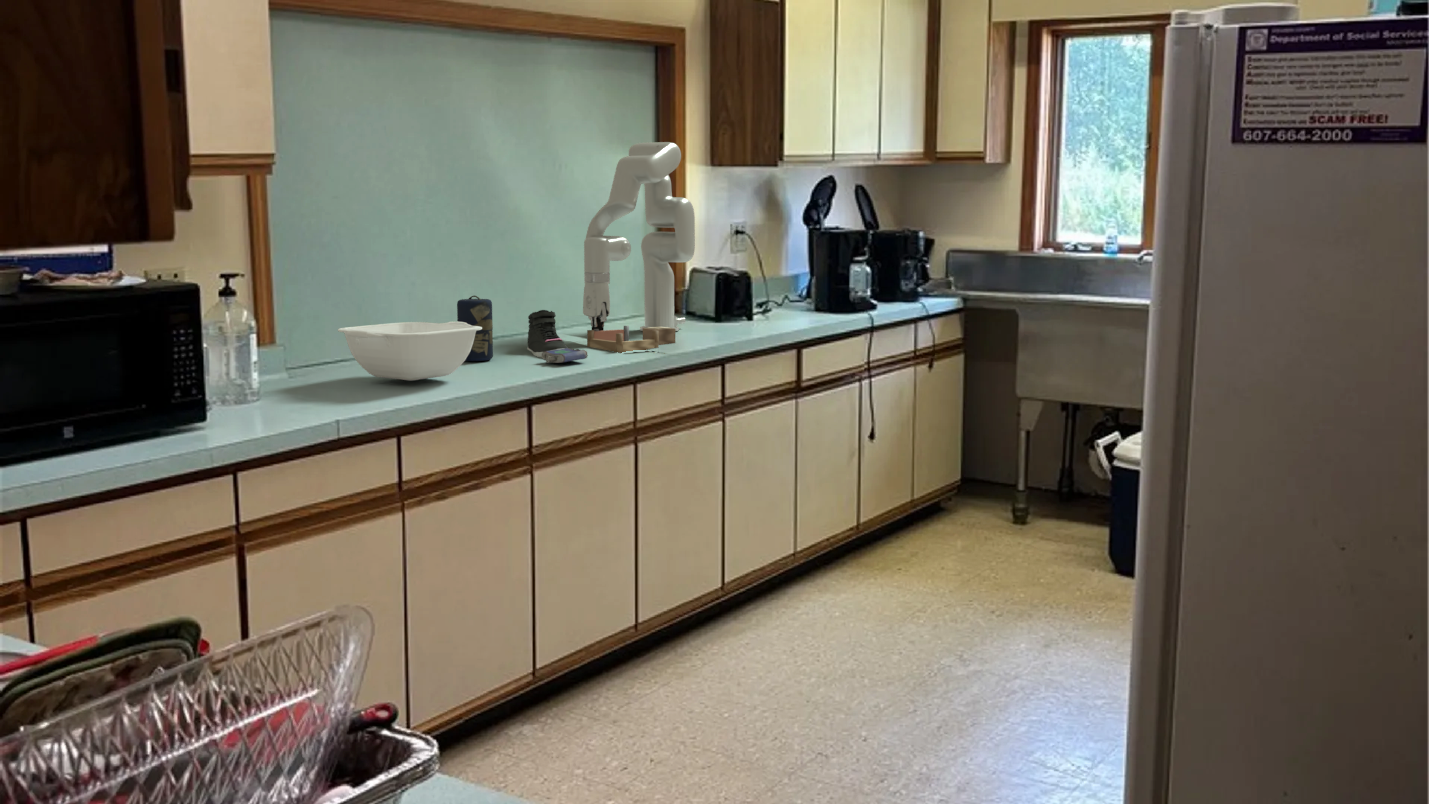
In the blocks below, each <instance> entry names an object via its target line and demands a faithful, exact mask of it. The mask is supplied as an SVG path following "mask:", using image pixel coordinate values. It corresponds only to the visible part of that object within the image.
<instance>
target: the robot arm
mask: <svg viewBox="0 0 1429 804" xmlns="http://www.w3.org/2000/svg"><path fill="white" fill-rule="evenodd" d="M681 160H682V151H681V149H680V147H679V145H677V143H675V142H670V141H664V142H663V141H660V142H658V141H657V142H655V141H654V142H653V141H652V142H650V141H648V142H637V143H634V144H632V145H631V146H630V147H629V150H628V156H627V155H626V156H624V157H621V158H620V159H619V161H618V162H617V163H616V168H615V171H614V176H613V181H612V185H611V189H610V193H609V197H608V200H607V202H606V203H605V204H604V205H603V206H601V208H600V209H599V210H598V211H597V212H596V214H595V215H594V216H593V218H592V219H591V221H590V222H589V224H588V227H587V230H586V235H585V239H584V242H583V246H584V247H583V254H584V256H583V260H584V267H583V268H584V270H583V272H584V276H583V277H584V287H583V299H582V301H583V302H582V314H583V315H584V316H586V317H588V319H589V320H590V326H591V330H594V329H599V331H604V330H605V329H604V327H605V323H606V322H607V320H608V319H607V318H608V317H609V316H610V314H611V297H610V286H609V284H610V283H611V282H610V281H611V280H610V279H611V277H610V273H611V271H610V267H611V266H610V264H611V263H610V262H621V261H624V260H626V259H628V258H629V256H630V254H631V252H632V246H631V242H630V241H629V240H628V239H627V238H626V237H624V236H621V235H604V234H605V232H606V230H607V229H608V227H609V226H610V225H612V223H613V222H615V221H617V220H618V219H621V218H623V217H625V216H626V215H628V214H630V213H632V212H633V211H634V210H635V209H636V207H637V202H638V197H639V194H640V190H641V185H642V184H644V206H645V209H644V211H645V212H644V215H645V221H646V223H647V224H648V225H649V226H650V227H653V228H664V229H665V228H666V229H667V228H669V229H670V228H671V229H672V228H674V231H652V232H649V233H646V234H645V235H644V236H643V238H642V240H641V243H640V249H641V255H642V260H643V270H644V272H643V274H644V325H643V326H640V327H639V331H641V332H643V328H647V327H670V328H675V332H677V331H678V332H679V331H680V327H679V326H677V325H680V324H681V325H682V324H685V323H686V318H685V317H678V316H676V315H675V275H674V271H673V268H672V267H671V265H670V264H669V263H687V262H689V261H691V260H692V259H693V257H694V254H695V250H696V236H695V234H696V229H695V228H696V227H695V226H696V225H695V224H696V223H695V220H696V219H695V218H696V217H695V209H694V206H693V204H692V202H691V201H690V200H689V199H688V198H685V197H680V196H679V197H678V196H677V197H675V196H673V193H672V181H671V177H670V174H671V173H673V171H676V169H677V168H678V167H679V165H680V162H681Z"/></svg>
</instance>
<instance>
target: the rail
mask: <svg viewBox="0 0 1429 804" xmlns="http://www.w3.org/2000/svg"><path fill="white" fill-rule="evenodd" d="M616 333H623V341H630V325H623V329H606V330H605V329H604V331H599V329H594V339H600V340H609V341H616Z"/></svg>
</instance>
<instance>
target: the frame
mask: <svg viewBox="0 0 1429 804" xmlns="http://www.w3.org/2000/svg"><path fill="white" fill-rule="evenodd" d="M586 334H587V335H586V337H587V338H586V344H587V345H586V346H587V348H594V349H597V350H604V351H608V350H609V352H612V351H614V352H613V353H617V352H618V353H617V354H621V353H622V352H626V351H633V350H646V349H649V350H652V349H659V347H660V345H659V331H656V330H654V331H652V339H648V340H643V339H640V340H639V339H636V340H629V341H623V333H616V341H609V340H600V339H594V330H592V329H587V330H586Z"/></svg>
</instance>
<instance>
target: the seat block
mask: <svg viewBox="0 0 1429 804" xmlns="http://www.w3.org/2000/svg"><path fill="white" fill-rule="evenodd" d="M654 330H656V331H659V346H663V345H670V344H676V331H675V328H670V327H647V328H643V331H642V340H648V339H652V331H654Z"/></svg>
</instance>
